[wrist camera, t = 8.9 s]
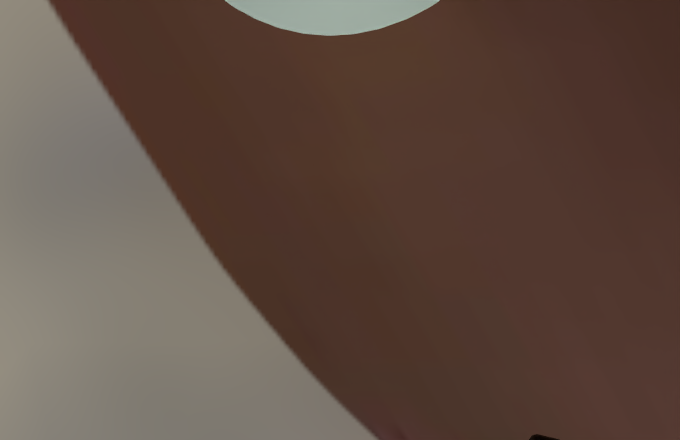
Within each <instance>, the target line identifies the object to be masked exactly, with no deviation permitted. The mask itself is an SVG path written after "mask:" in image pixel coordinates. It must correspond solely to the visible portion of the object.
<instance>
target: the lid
mask: <svg viewBox="0 0 680 440" xmlns="http://www.w3.org/2000/svg"><path fill="white" fill-rule="evenodd" d="M225 1H226V2H228V3H229V4H230V5H232V6H233V7H235V8H237V9H238V10H240V11H242V12H244V13H246V14H248V15H249V16H251V17H253V18H255V19H257V20H260V21H262V22H265V23H268V24H270V25H273V26H276V27H278V28H282V29H286V30H290V31H295V32H299V33H304V34H316V35H328V36H330V35H346V34H356V33H361V32H366V31H371V30H376V29H380V28H383V27H386V26H389V25H391V24H394V23H397V22H400V21H403V20H406V19H408V18H410V17H412V16H414V15H416V14H418V13H419V12H421V11H423V10H425V9H427V8H429V7H431V6H432V5H434V4H435V3H437V2H438V1H440V0H225Z"/></svg>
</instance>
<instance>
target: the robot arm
mask: <svg viewBox="0 0 680 440" xmlns="http://www.w3.org/2000/svg"><path fill="white" fill-rule="evenodd" d="M529 440H559V439H555V438H551V437H547V436H543V435H538V434H536V435H532V436H531V438H530V439H529Z"/></svg>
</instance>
